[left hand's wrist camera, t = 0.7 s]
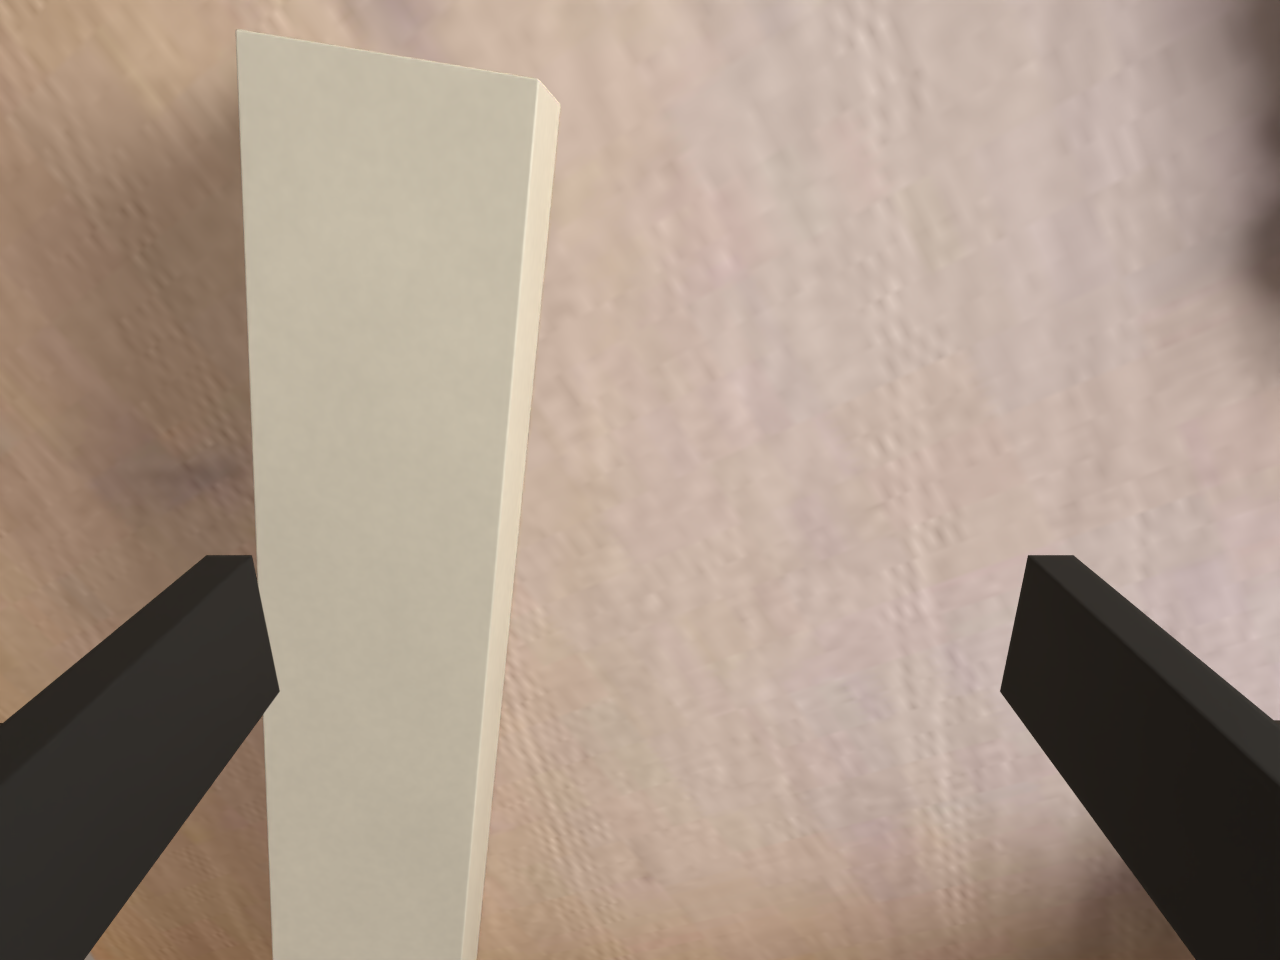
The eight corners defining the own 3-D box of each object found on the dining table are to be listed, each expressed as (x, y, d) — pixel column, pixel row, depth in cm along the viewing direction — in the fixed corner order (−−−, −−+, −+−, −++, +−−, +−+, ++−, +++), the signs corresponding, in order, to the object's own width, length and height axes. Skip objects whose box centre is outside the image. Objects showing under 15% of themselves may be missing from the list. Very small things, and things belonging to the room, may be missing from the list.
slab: (322, 64, 29) (234, 27, 23) (561, 103, 30) (539, 78, 23) (325, 1002, 48) (278, 1123, 42) (471, 1017, 49) (446, 1138, 43)
